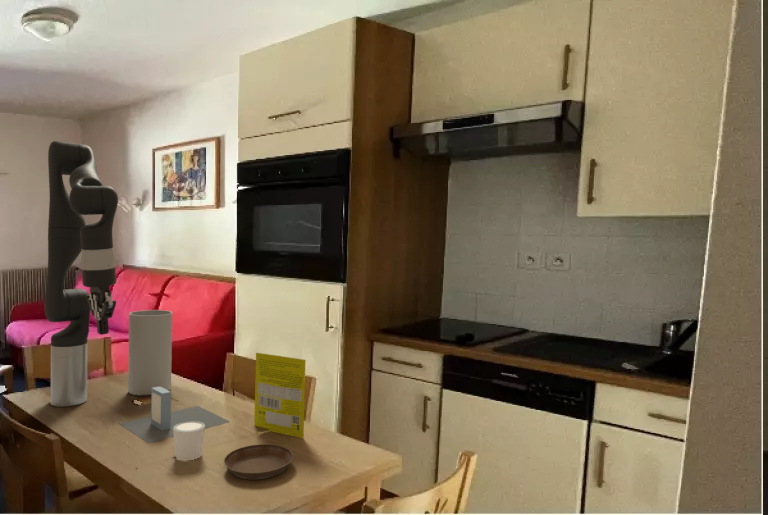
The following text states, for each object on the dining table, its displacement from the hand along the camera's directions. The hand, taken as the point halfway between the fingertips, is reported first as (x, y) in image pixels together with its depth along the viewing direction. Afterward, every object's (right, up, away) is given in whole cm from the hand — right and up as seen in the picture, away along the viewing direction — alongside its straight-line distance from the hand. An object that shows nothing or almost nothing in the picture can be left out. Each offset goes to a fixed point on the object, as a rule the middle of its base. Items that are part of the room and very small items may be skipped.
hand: (103, 333), depth 136 cm
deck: (+14, -24, +2) cm, 28 cm away
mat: (+16, -25, +5) cm, 30 cm away
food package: (+44, -26, +2) cm, 51 cm away
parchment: (+6, -25, +20) cm, 32 cm away
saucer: (+44, -27, -19) cm, 55 cm away
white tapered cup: (+27, -26, -14) cm, 40 cm away
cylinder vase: (-3, -23, +34) cm, 41 cm away
